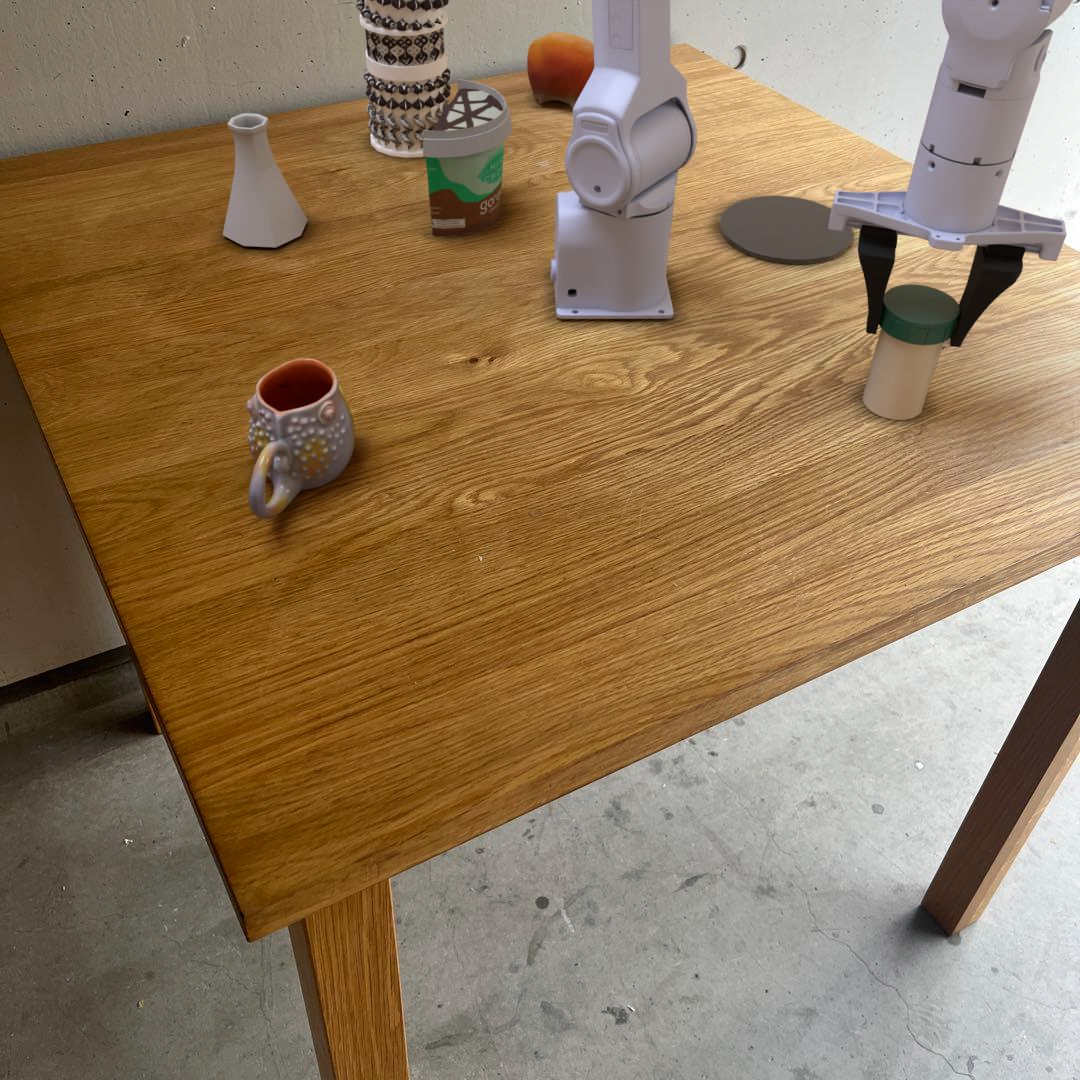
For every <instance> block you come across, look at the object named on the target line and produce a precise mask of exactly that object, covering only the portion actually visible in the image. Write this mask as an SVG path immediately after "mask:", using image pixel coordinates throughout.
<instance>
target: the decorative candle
mask: <svg viewBox="0 0 1080 1080" xmlns="http://www.w3.org/2000/svg"><path fill="white" fill-rule="evenodd" d="M449 2H450V0H356V9H357V10H358V11H359V12H360V13H359V25H360V26H361V27H362V28H363V29H365V30H364V31H365V41H366V49H365V60H366V68H365V70H364V73H363V79H364V80H365V82H366V84H367V85H366V88H365V91H364V93H365V95H366V96H367V98H368V100H369V102H368V104H367V106H366V114H367V116H368V117H369V121H368V124H367V127H368V130H369V133H370V137H369V138H370V145H371V147H373V149H375V150H376V151H377V152H378V153H382V154H385V155H387V156H390V157H396V158H404V159H410V158H411V159H412V158H413V159H415V158H424V157H423V139H424V130H430V131H433V129H434V128H435V126H436V124H437V122H438V120H439V118H440V116H441V114H442V112H443V110H444V109H445V107H446V106H448V105H449V104H450V103H451V102H450V99H449V97H451V90H452V88H451V85H450V84H449V81H450V79H451V69H449V68H448V59H447V58H448V57H447V51H446V47H445V35H444V34H445V32H444V30H445V29H444V28H445V26H446V25H447V24H448V23H449V19H448V14H447V10H445V9H443V8H444V7H445V6H447V5H449Z"/></svg>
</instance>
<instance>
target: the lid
mask: <svg viewBox="0 0 1080 1080" xmlns="http://www.w3.org/2000/svg"><path fill="white" fill-rule="evenodd" d="M959 315H960V306H959V302H958V301H957V300H956V299H955V298H954V297H953V296H951V295H950V294H949V293H947V292H945V291H943V290H940V289H938V288H935V287H932V286H928V285H924V284H923V285H922V284H901V285H896V286H894V287H891V288H888V289H887V291H885V294H884V298H883V304H882V310H881V315H880V321H879V327H880V329H881V328H882V330H883V331H884V332H886V333H887V334H888V335H890V336H892V337H893V338H895V339H898V340H900V341H903V342H906V343H911V344H916V345H935V344H940V343H943V342H944V343H945V342H947V341H949V340H950V338H951V337H952V335H953V334H954V331H955V329H956V326H957V324H958V321H959V320H958V318H959Z"/></svg>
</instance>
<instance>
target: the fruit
mask: <svg viewBox="0 0 1080 1080" xmlns="http://www.w3.org/2000/svg"><path fill="white" fill-rule="evenodd" d="M526 59H527V60H526V69H527V77H528V82H529V84H530V88H531V91H532V94H533V95H534V96H535V97H536V98H537V99H538V102H539V104H540V106H541V105H542V104H543V103H546V102H550V101H559V102H563V103H565V104H567V105H569V106H570V107H571V109H573V108H574V106H575V103H576V101H577V100H578V98H579V96H580V94H581V92H582V91H583V89H584V87H585V85H586V83H587V82H588V80H589V78H590V76H591V74H592V72H593V70H594V45H593V41H592V42H591V41H590V39H588V38H585V37H582V36H581V35H577V34H574V33H573V34H572V33H565V32H562V31H552V32H549V33H546V34H545V35H543V36H540V37H539V38H537V39H536V38H535V39H533V40H532V42H531V43H530V45H529V47H528V51H527V58H526Z"/></svg>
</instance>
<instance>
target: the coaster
mask: <svg viewBox="0 0 1080 1080" xmlns="http://www.w3.org/2000/svg"><path fill="white" fill-rule="evenodd" d="M831 210H832V207H830V206H827V205H824V204H822V203H819V202H816V201H812V200H809V199H805V198H801V197H794V196H786V195H761V196H754V197H748V198H745V199H742V200H738V201H736V202H734V203H732V204H731V205H730V206H728V207H726V208H725V209H724V211H723V212H722V213H721V214H720V218H719V226H718V228H719V231H720V235H721V236H722V238H723V239H724V240H725V241H726V242H727V243H728V244H729V246H732V248H734V249H736V250H737V251H739V252H741V253H743V254H745V255H748V256H750V257H752V258H756V259H759V260H762V261H766V262H771V263H776V264H784V265H813V264H819V263H825V262H827V261H830V260H831V261H832V260H833V259H836V258H838V257H839V256H841V255H843V254H844V253H845V252H846V251H848V249H849V248H850V247H851V245H852V242H853V238H854V230H853V228H848V227H846V228H845V230H844V231H836V230H829V229H828V226H829V220H830V214H831Z"/></svg>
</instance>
